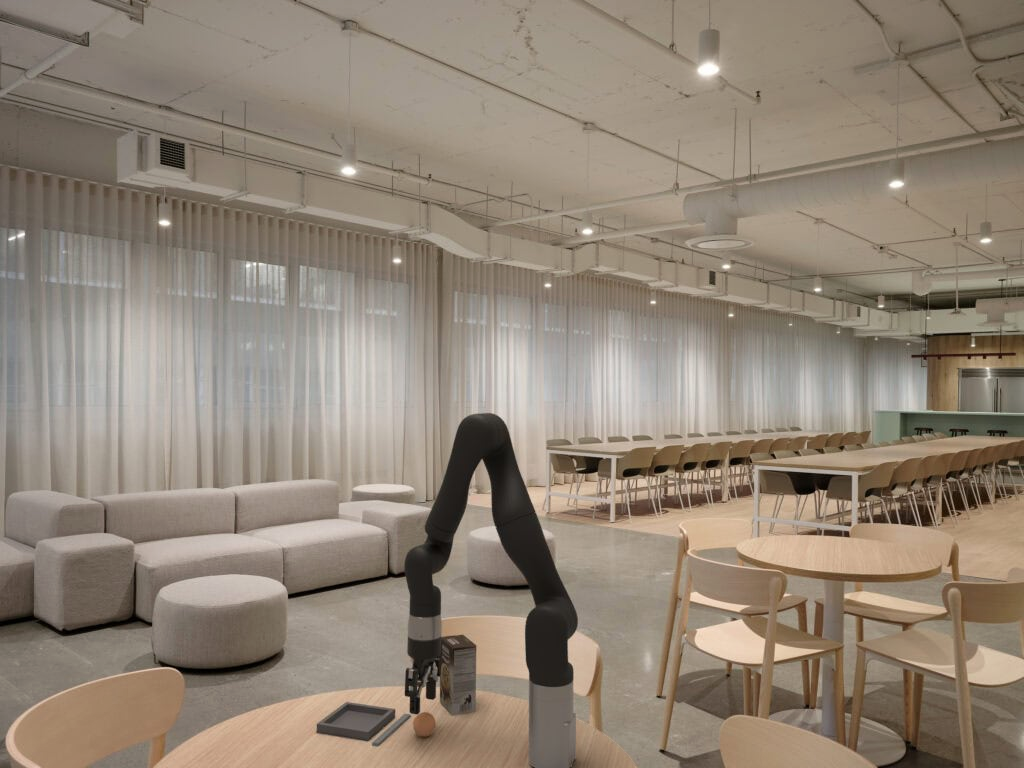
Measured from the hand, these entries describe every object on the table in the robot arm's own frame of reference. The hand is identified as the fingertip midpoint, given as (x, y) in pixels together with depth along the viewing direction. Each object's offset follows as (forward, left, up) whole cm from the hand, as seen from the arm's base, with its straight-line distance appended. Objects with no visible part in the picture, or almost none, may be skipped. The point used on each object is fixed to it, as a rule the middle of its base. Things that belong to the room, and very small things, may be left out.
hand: (422, 705), depth 172 cm
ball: (0, 0, -4) cm, 4 cm away
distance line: (+8, 0, -7) cm, 10 cm away
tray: (+17, 0, -7) cm, 18 cm away
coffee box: (-1, -17, -7) cm, 18 cm away
